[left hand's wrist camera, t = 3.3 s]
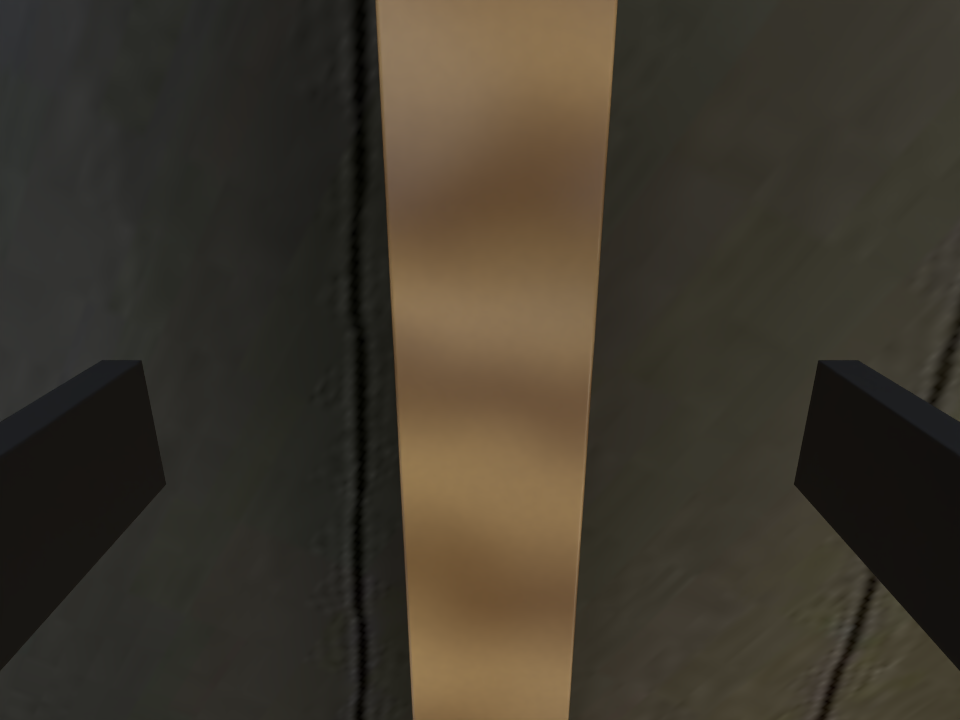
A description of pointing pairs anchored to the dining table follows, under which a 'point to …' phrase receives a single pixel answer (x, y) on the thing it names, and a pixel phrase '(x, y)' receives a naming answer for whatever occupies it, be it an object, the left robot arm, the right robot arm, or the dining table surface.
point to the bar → (493, 333)
